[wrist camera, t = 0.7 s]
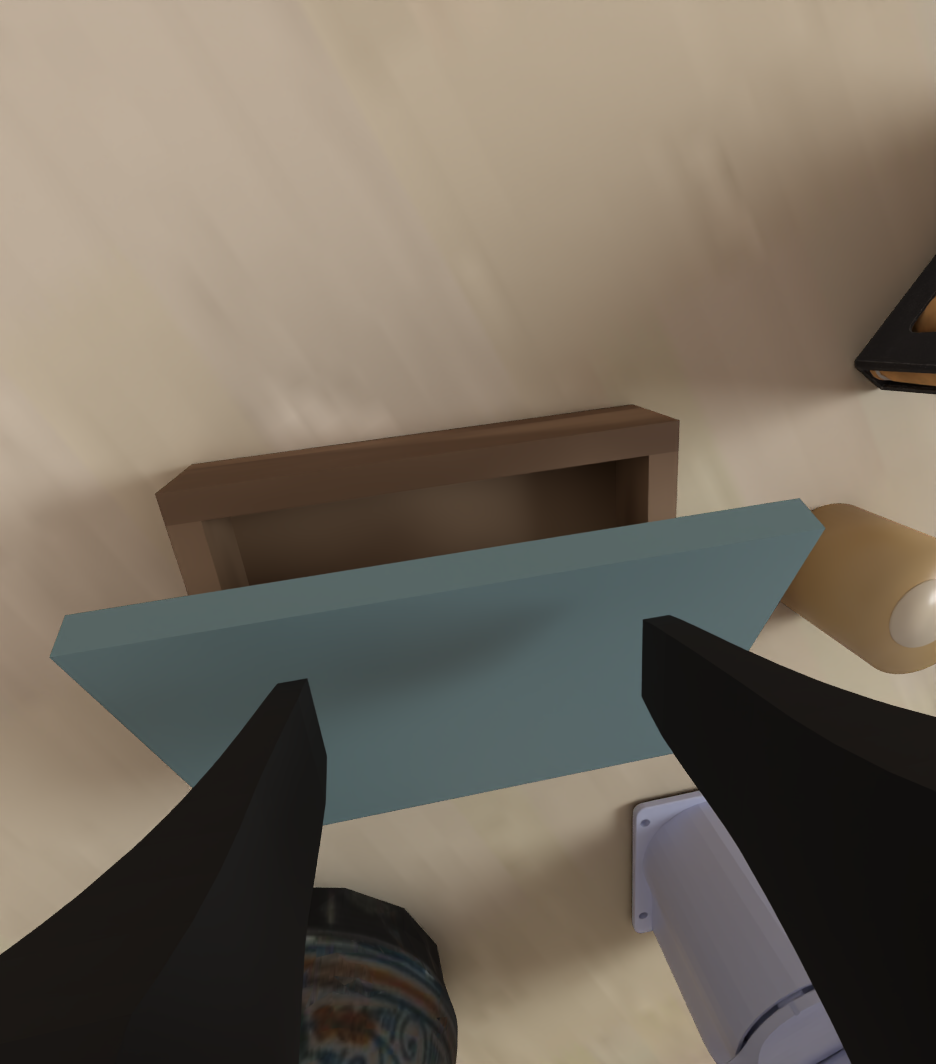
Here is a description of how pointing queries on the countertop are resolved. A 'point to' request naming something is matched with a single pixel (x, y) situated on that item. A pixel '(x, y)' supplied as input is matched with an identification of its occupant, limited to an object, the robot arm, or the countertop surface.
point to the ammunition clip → (906, 341)
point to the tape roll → (870, 588)
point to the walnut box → (418, 496)
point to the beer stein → (372, 986)
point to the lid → (443, 654)
